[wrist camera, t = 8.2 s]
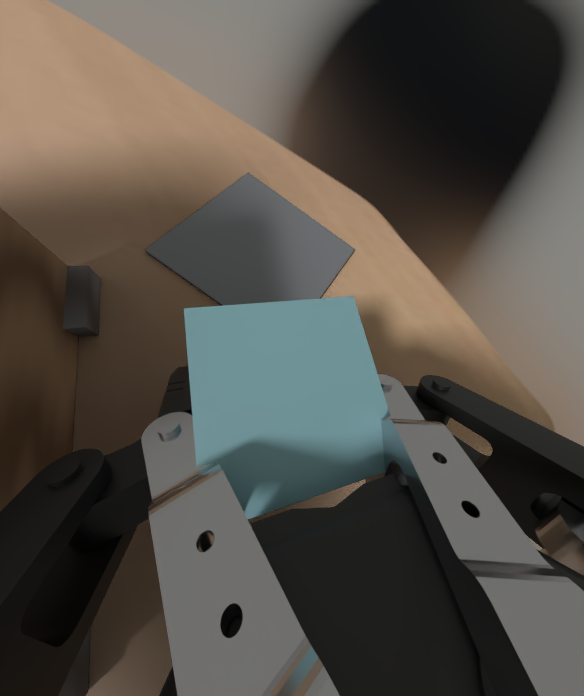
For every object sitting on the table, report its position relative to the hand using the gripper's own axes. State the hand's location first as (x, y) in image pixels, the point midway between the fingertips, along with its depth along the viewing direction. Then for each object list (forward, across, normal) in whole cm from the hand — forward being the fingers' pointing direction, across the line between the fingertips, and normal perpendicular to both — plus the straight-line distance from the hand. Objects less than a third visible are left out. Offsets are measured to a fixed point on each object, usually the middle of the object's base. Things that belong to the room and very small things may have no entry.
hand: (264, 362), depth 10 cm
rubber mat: (+10, +2, +4) cm, 11 cm away
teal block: (+2, 0, -4) cm, 5 cm away
